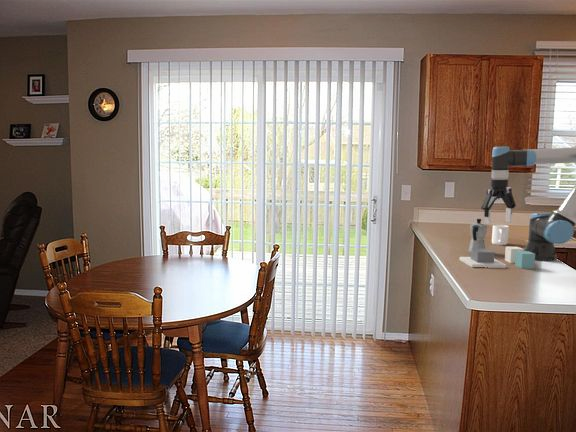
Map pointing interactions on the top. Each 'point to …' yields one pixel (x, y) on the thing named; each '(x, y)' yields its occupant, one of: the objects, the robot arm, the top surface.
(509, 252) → the cream block
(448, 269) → the top surface
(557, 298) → the top surface
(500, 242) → the mug
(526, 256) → the teal block
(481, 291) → the top surface
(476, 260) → the tower base
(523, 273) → the top surface
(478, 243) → the coffee maker
